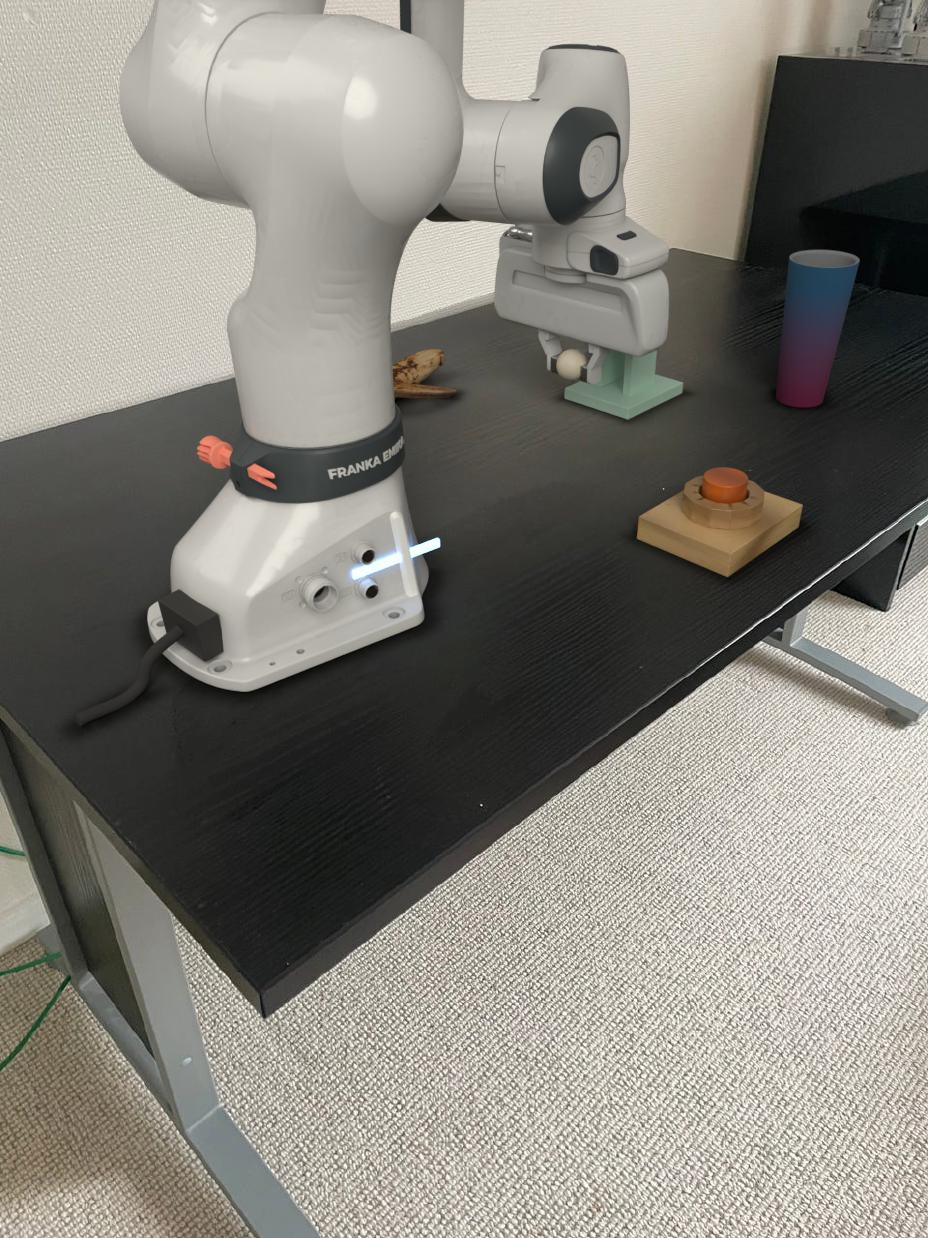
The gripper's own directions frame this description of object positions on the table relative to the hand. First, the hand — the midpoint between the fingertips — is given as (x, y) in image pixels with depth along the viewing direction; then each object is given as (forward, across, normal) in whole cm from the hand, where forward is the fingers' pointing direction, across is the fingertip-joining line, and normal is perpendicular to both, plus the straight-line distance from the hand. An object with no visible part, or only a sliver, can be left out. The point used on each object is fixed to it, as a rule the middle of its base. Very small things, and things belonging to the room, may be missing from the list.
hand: (574, 376), depth 99 cm
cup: (+5, +15, +21) cm, 26 cm away
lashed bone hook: (+5, -18, -8) cm, 20 cm away
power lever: (-2, 0, +5) cm, 5 cm away
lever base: (+5, 0, +9) cm, 10 cm away
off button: (+1, +25, -10) cm, 27 cm away
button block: (+5, +25, -10) cm, 27 cm away
